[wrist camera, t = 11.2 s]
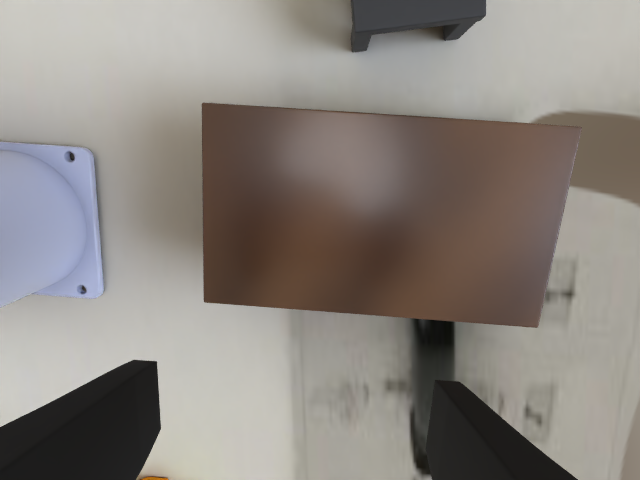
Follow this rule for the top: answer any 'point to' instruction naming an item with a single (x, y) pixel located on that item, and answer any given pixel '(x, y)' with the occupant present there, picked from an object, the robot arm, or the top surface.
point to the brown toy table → (382, 212)
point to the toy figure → (154, 478)
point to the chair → (412, 17)
